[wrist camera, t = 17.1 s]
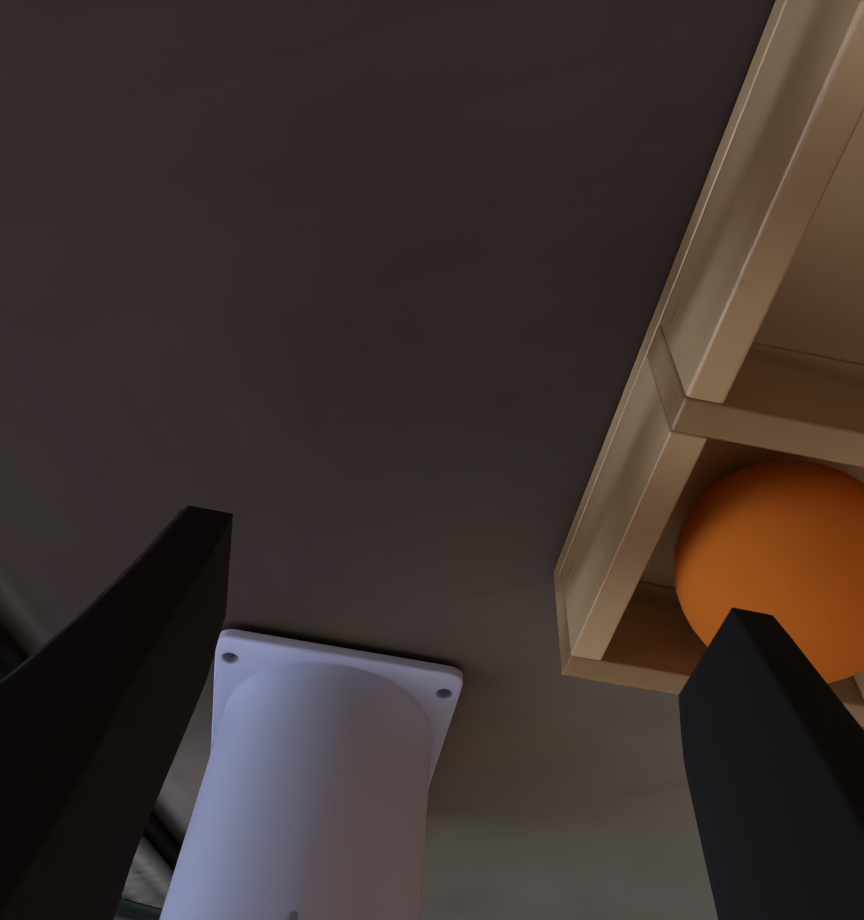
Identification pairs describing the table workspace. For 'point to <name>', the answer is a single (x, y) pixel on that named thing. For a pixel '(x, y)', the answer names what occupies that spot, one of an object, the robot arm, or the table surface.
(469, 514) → the table surface
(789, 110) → the tray
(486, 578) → the table surface
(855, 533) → the rack clementine
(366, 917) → the robot arm
